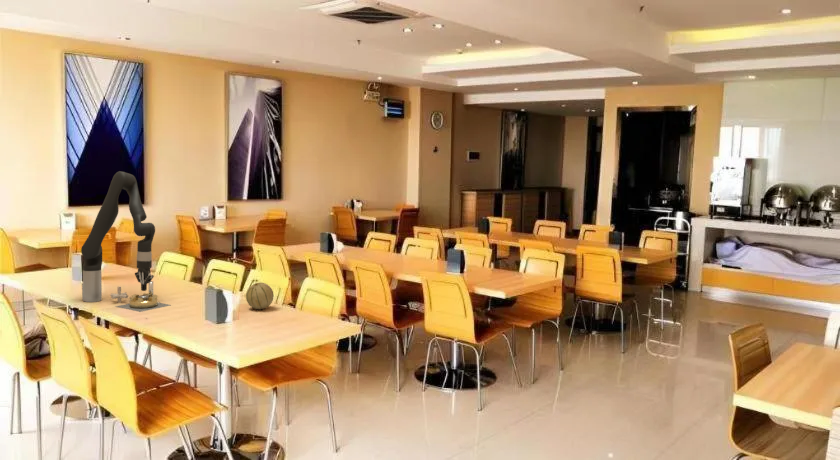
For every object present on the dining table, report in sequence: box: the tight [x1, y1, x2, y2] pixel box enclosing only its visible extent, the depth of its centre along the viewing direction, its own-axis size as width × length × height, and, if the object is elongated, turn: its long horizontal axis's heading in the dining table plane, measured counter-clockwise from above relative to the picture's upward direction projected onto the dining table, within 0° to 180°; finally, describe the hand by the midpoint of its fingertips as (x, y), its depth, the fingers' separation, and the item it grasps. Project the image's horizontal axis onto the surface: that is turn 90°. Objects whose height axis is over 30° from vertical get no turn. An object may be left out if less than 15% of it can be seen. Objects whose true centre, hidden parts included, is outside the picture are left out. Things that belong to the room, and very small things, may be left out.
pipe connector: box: [110, 285, 129, 303], centre depth 355 cm, size 10×10×10 cm
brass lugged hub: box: [128, 280, 159, 308], centre depth 349 cm, size 14×14×12 cm
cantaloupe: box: [245, 282, 275, 310], centre depth 358 cm, size 15×15×15 cm
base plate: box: [114, 301, 172, 313], centre depth 349 cm, size 20×20×2 cm
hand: (143, 290), depth 356 cm, fingers closed
